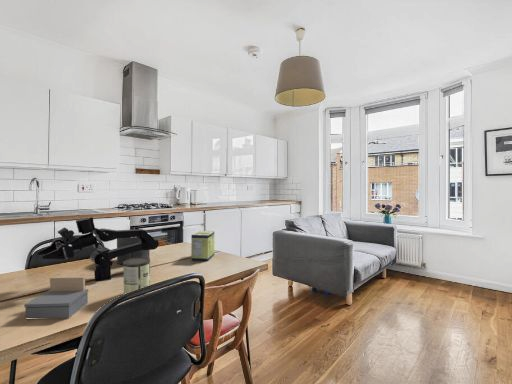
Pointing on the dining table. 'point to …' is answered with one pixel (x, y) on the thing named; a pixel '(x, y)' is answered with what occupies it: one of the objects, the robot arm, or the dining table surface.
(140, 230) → the robot arm
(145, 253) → the planter
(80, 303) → the mailer box
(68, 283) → the lid
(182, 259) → the dining table surface
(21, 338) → the dining table surface
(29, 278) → the dining table surface
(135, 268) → the coffee can
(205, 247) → the protein box
